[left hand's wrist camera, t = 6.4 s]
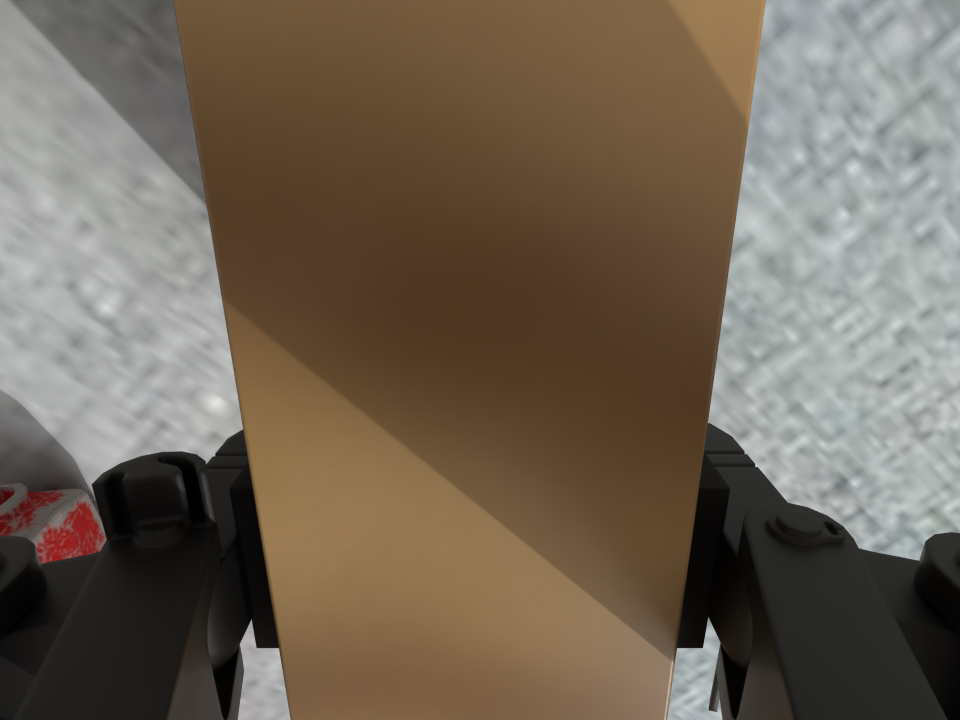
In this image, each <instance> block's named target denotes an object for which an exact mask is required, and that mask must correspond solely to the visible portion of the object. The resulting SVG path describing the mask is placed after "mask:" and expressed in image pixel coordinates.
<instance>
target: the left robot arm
mask: <svg viewBox="0 0 960 720" xmlns="http://www.w3.org/2000/svg"><path fill="white" fill-rule="evenodd" d="M215 454H216V455H215V457H212V458H211V459H210V461H209V462H208V463H207V464H206V462H205V460H203V459H202V458H201V457H199V456H198V455H196V454H191V453H187V452H182V451H181V452H160V453H155V454H150V455H145V456H140V457H137V458H135V459H132V460H129V461H126V462H123V463H120V464H119V465H117V466H115V467H113V468H112V469H110V470H108V471H106V472H104V473H103V474H102V475H101V476H100V477H99V478H98V479H97V480H96V481H95V482H94V483H93V484H92V487H93V491H94V494H95V498H96V502H97V505H98V509H99V513H100V517H101V520H102V524H103V528H104V532H105V535H106V539H107V540H106V542H105V543H104V545H103V547H102V549H101V551H100V552H96V553H92V554H87V555H82V556H77V557H72V558H67V559H62V560H57V561H52V562H47V563H42V564H41V562H40V559H39V556H38V553H37V549H36V546H35V544H34V543H32V542H31V541H30V540H29V539H27V538H26V537H19V536H12V535H6V536H0V720H238V712H239V705H240V697H241V690H242V682H243V675H244V667H243V660H242V654H241V649H240V642H241V640H242V638H243V636H244V634H245V632H246V630H247V628H248V625H249V623H250V621H251V619H252V624H253V629H254V635H255V641H256V647H257V648H279V645H278V638H277V632H276V626H275V620H274V614H273V608H272V602H271V596H270V589H269V583H268V577H267V571H266V565H265V559H264V553H263V547H262V540H261V534H260V528H259V522H258V516H257V510H256V504H255V497H254V491H253V485H252V479H251V473H250V467H249V461H248V455H247V448H246V442H245V436H244V430H241V431H240V432H238V433H236V434H234V435H233V436H231V437H229V438H228V439H227V440H226V441H225V443H224V444H223V445H222V446H221V447H220V449H219V450H218V451H217V452H216V453H215ZM708 617H709V619H710V621H711V623H712V625H713V627H714V630H715V632H716V634H717V636H718V638H719V640H720V642H721V643H720V649H719V654H718V659H717V665H716V670H715V675H714V681H713V686H712V691H711V697H710V704H709V710H710V711H715V712H717V709H718V704H719V699H720V703H721V711H722V718H723V720H960V533H953V532H950V533H942V534H935V535H933V536H932V537H931V538H929V539H928V540H927V541H925V545H924V548H923V551H922V554H921V557H920V560H919V561H917V560H912V559H907V558H902V557H897V556H892V555H886V554H881V553H876V552H871V551H867V550H863V549H859V548H858V546H857V544H856V542H855V540H854V539H853V537H852V536H851V535H850V534H849V533H848V531H847V530H846V529H845V528H844V527H843V526H842V525H840V524H839V523H837V522H836V521H834V520H833V519H831V518H830V517H828V516H827V515H825V514H822V513H820V512H817V511H815V510H813V509H810V508H808V507H804V506H800V505H795V504H791V503H788V502H787V501H786V500H785V499H784V498H783V497H782V495H781V494H780V493H779V492H778V491H777V489H776V488H775V487H774V486H773V485H772V483H771V482H770V481H769V480H768V479H767V478H766V476H765V475H764V474H763V473H762V472H761V470H760V469H759V468H758V467H755V463H754V462H753V461H752V460H751V459H750V457H749V456H748V455H747V454H745V453H744V450H743V449H742V448H741V447H740V445H739V444H738V443H737V442H736V441H735V440H734V438H733V437H732V436H730V435H729V434H727V433H725V432H724V431H722V430H720V429H719V428H717V427H715V426H714V425H712V424H710V423H708V425H707V432H706V439H705V446H704V454H703V461H702V468H701V476H700V483H699V490H698V497H697V505H696V512H695V519H694V527H693V534H692V541H691V549H690V556H689V563H688V570H687V578H686V585H685V592H684V600H683V607H682V614H681V621H680V629H679V636H678V643H677V648H703V644H704V638H705V633H706V627H707V621H708Z"/></svg>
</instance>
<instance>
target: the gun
mask: <svg viewBox="0 0 960 720" xmlns="http://www.w3.org/2000/svg"><path fill="white" fill-rule="evenodd" d="M6 535H12V536H19V537H26V538H27V539H29V540H30V541H31V542H32V543H34V544H35V546H36V549H37V553H38V556H39V559H40V562H41V564H42V563H47V562H52V561H57V560H62V559H67V558H72V557H77V556H82V555H87V554H92V553H96V552H100V551H101V549H102V547H103V545H104V543H105V542H106V540H107V539H106V535H105V532H104V528H103V524H102V520H101V518H100V516H99V514H98V512H97V510H96V508H95V506H94V504H93V503H92V501H91V499H90V497H89V495H88V493H87V492H86V490H84V489H79V488H76V489H64V490H52V491H38V492H29V491H28V489H27V487H26V486H25V485H23V484H22V483H7V484H2V485H0V536H6Z"/></svg>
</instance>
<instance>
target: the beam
mask: <svg viewBox="0 0 960 720" xmlns="http://www.w3.org/2000/svg"><path fill="white" fill-rule="evenodd" d="M173 1H174V7H175V13H176V20H177V26H178V32H179V38H180V44H181V50H182V56H183V62H184V69H185V75H186V81H187V87H188V93H189V99H190V105H191V112H192V118H193V124H194V130H195V136H196V142H197V148H198V154H199V161H200V167H201V173H202V179H203V185H204V191H205V197H206V203H207V210H208V216H209V222H210V228H211V234H212V240H213V246H214V252H215V259H216V265H217V271H218V277H219V283H220V289H221V295H222V301H223V308H224V314H225V320H226V326H227V332H228V338H229V344H230V350H231V357H232V363H233V369H234V375H235V381H236V387H237V393H238V399H239V406H240V412H241V418H242V424H243V430H244V436H245V442H246V448H247V455H248V461H249V467H250V473H251V479H252V485H253V491H254V497H255V504H256V510H257V516H258V522H259V528H260V534H261V540H262V547H263V553H264V559H265V565H266V571H267V577H268V583H269V589H270V596H271V602H272V608H273V614H274V620H275V626H276V632H277V638H278V645H279V651H280V657H281V663H282V669H283V675H284V681H285V687H286V694H287V700H288V706H289V712H290V718H291V720H667V716H668V709H669V702H670V694H671V687H672V680H673V672H674V665H675V658H676V651H677V643H678V636H679V629H680V621H681V614H682V607H683V600H684V592H685V585H686V578H687V570H688V563H689V556H690V549H691V541H692V534H693V527H694V519H695V512H696V505H697V497H698V490H699V483H700V476H701V468H702V461H703V454H704V446H705V439H706V432H707V425H708V417H709V410H710V403H711V395H712V388H713V381H714V374H715V366H716V359H717V352H718V344H719V337H720V330H721V323H722V315H723V308H724V301H725V293H726V286H727V279H728V272H729V264H730V257H731V250H732V242H733V235H734V228H735V221H736V213H737V206H738V199H739V191H740V184H741V177H742V170H743V162H744V155H745V148H746V140H747V133H748V126H749V119H750V111H751V104H752V97H753V89H754V82H755V75H756V68H757V60H758V53H759V46H760V38H761V31H762V24H763V17H764V9H765V2H766V0H173Z"/></svg>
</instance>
